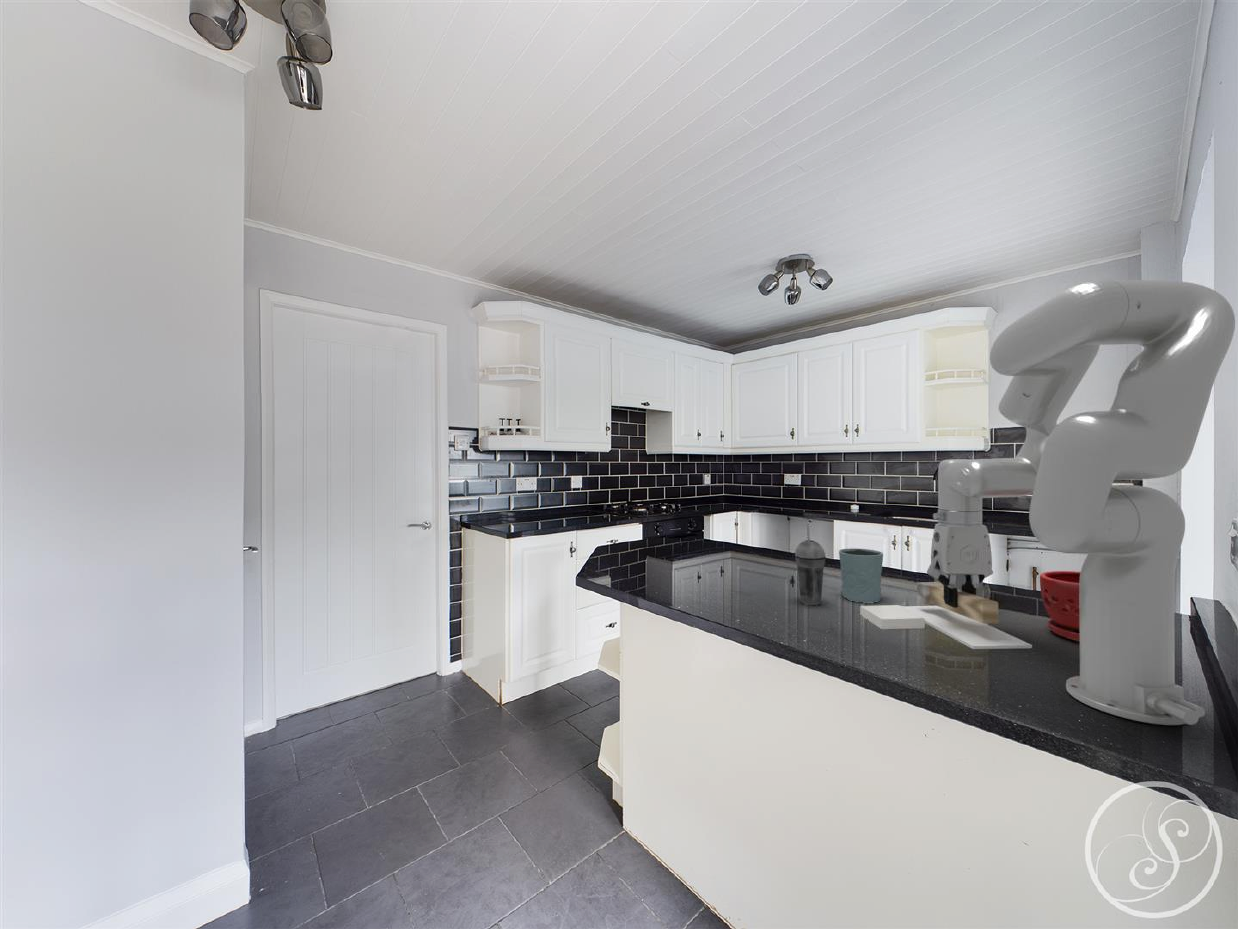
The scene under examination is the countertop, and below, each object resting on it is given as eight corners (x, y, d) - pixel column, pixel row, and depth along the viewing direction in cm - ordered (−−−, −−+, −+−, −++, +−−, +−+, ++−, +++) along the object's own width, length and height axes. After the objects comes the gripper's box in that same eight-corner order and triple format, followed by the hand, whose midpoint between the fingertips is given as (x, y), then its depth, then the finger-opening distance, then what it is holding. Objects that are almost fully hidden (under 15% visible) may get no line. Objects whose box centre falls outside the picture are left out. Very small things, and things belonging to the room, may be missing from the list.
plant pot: (1102, 628, 100) (1101, 570, 100) (1152, 653, 87) (1152, 587, 87) (1026, 623, 103) (1026, 567, 103) (1064, 647, 91) (1064, 583, 90)
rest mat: (1032, 648, 90) (1032, 645, 90) (973, 649, 90) (973, 646, 90) (945, 608, 114) (945, 605, 114) (899, 609, 114) (899, 606, 114)
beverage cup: (831, 602, 121) (829, 522, 120) (820, 609, 115) (818, 525, 115) (802, 596, 126) (800, 520, 125) (790, 603, 120) (789, 523, 120)
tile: (924, 618, 102) (899, 605, 111) (881, 619, 101) (860, 606, 110) (924, 630, 102) (899, 616, 111) (882, 631, 102) (860, 617, 111)
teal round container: (845, 603, 119) (845, 555, 119) (834, 592, 129) (834, 547, 129) (890, 605, 117) (889, 555, 117) (875, 593, 127) (874, 547, 127)
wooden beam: (1004, 623, 93) (1003, 602, 93) (978, 623, 93) (977, 602, 93) (939, 599, 112) (938, 582, 112) (917, 600, 112) (916, 582, 112)
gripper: (932, 521, 97) (932, 612, 98) (1013, 520, 97) (1013, 610, 98) (909, 516, 105) (910, 600, 105) (985, 515, 105) (985, 599, 105)
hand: (959, 604), depth 102 cm, fingers closed on wooden beam, 3 cm apart
